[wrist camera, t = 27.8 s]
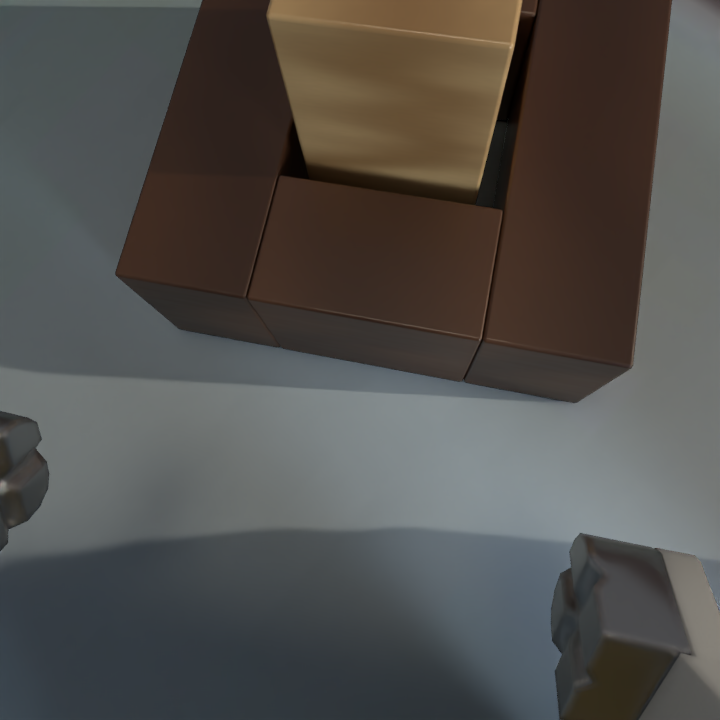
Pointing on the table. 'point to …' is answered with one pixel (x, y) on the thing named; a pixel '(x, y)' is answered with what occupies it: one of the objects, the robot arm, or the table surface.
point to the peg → (396, 89)
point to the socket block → (415, 213)
